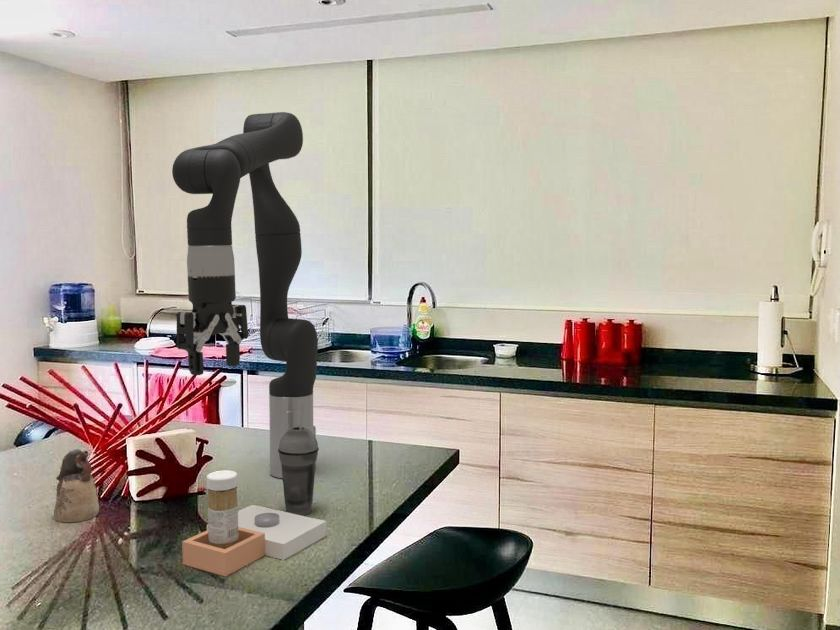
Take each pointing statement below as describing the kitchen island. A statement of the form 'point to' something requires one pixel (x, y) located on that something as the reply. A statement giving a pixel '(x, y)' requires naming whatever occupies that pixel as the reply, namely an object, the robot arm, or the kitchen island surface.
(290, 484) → the beverage cup
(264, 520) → the white knobbed panel
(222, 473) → the sprinkles bottle
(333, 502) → the kitchen island surface
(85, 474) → the figurine
